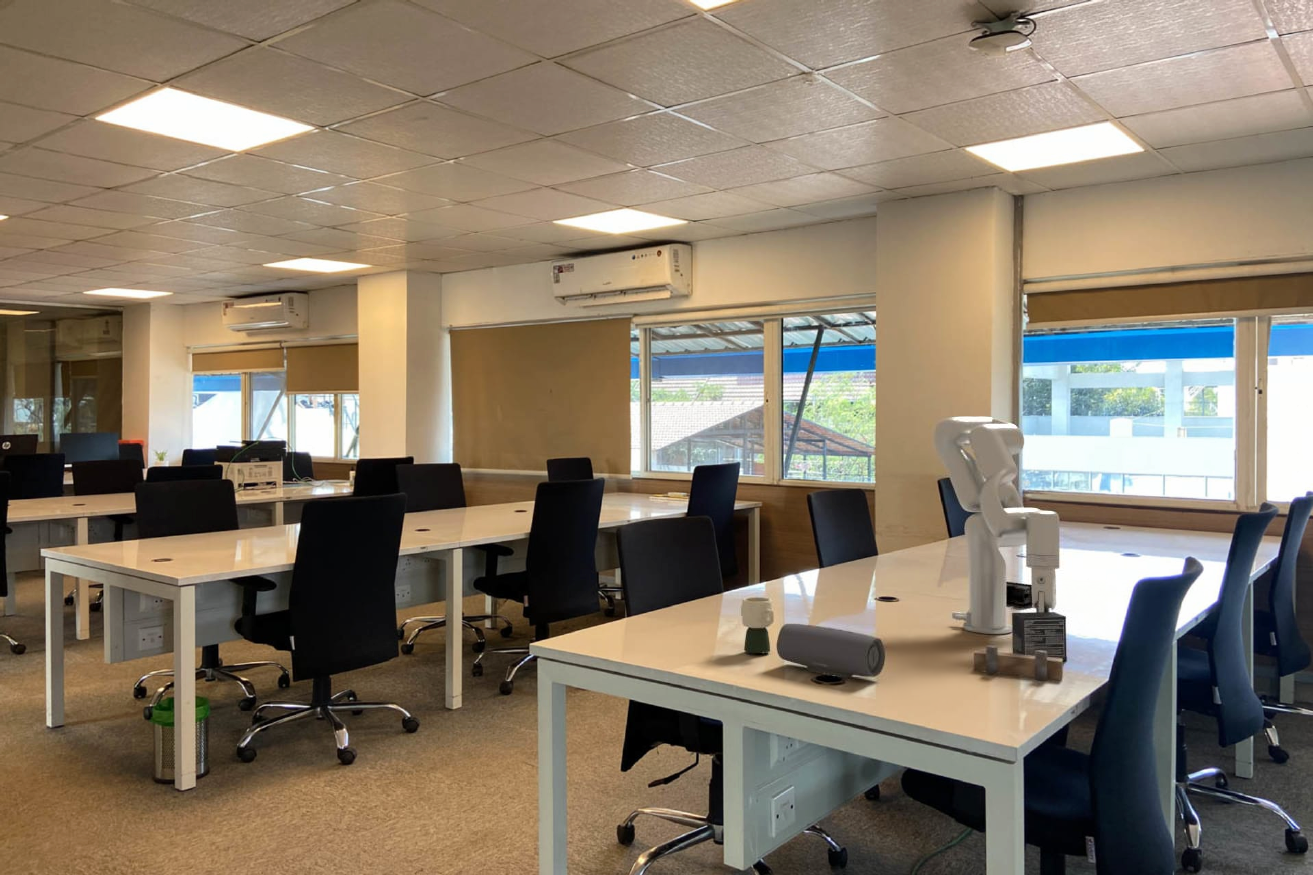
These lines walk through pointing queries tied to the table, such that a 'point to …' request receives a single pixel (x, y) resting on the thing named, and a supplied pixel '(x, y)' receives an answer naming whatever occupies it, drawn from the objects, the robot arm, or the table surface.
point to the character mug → (757, 623)
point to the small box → (1039, 634)
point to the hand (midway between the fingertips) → (1043, 635)
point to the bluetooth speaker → (831, 650)
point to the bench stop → (1018, 664)
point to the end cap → (1018, 595)
